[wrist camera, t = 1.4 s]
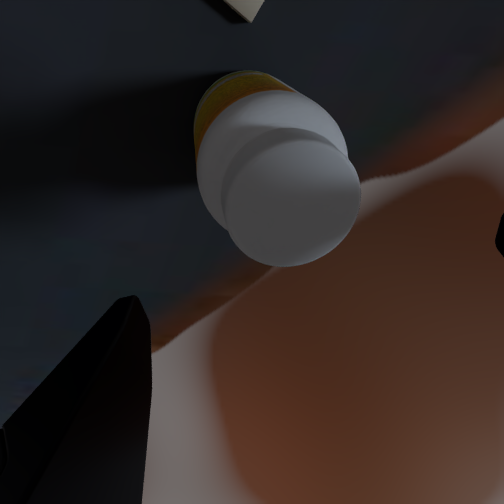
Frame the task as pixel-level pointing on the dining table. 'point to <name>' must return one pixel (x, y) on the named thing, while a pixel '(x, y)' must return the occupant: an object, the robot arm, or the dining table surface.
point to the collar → (245, 8)
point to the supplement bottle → (273, 169)
